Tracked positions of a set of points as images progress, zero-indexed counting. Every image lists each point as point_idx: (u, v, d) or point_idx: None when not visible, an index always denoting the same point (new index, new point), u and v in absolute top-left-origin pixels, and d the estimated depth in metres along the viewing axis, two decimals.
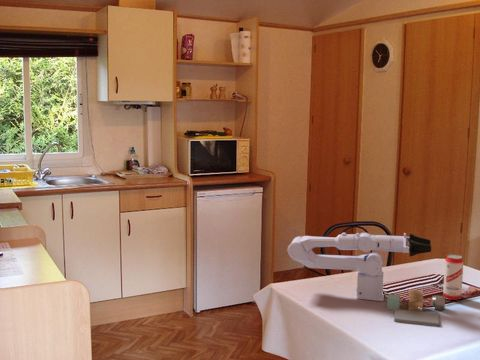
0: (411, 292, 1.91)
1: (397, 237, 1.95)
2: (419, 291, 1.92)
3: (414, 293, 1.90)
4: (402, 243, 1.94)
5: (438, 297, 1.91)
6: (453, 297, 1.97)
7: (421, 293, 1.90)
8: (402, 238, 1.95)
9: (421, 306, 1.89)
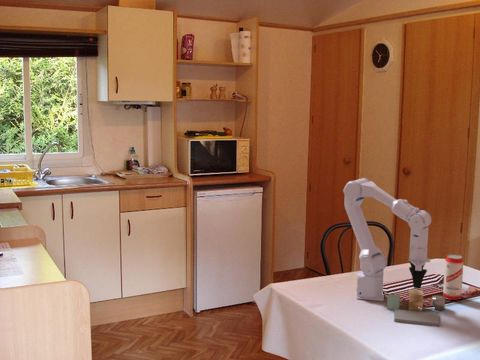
0: (411, 292, 1.91)
1: (426, 254, 1.87)
2: (419, 291, 1.92)
3: (414, 293, 1.90)
4: (421, 260, 1.86)
5: (438, 297, 1.91)
6: (453, 297, 1.97)
7: (421, 293, 1.90)
8: (425, 259, 1.87)
9: (421, 306, 1.89)
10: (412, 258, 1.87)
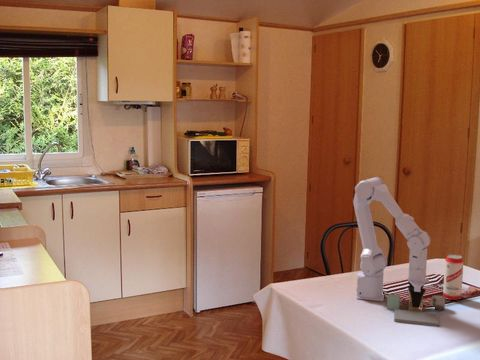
0: None
1: (425, 274, 1.88)
2: None
3: None
4: (420, 280, 1.87)
5: (438, 297, 1.91)
6: (453, 297, 1.97)
7: None
8: (424, 279, 1.88)
9: (421, 306, 1.89)
10: (411, 279, 1.89)
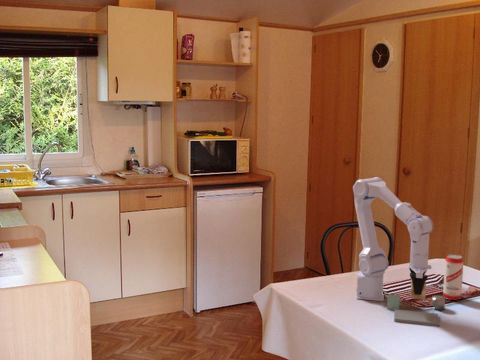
0: None
1: (427, 260, 1.81)
2: None
3: None
4: (422, 267, 1.80)
5: (438, 297, 1.91)
6: (453, 297, 1.97)
7: None
8: (426, 266, 1.81)
9: (424, 294, 1.82)
10: (413, 265, 1.82)
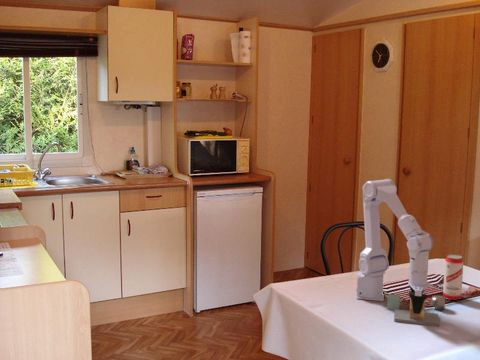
0: None
1: (426, 278, 1.79)
2: None
3: None
4: (421, 284, 1.78)
5: (438, 297, 1.91)
6: (453, 297, 1.97)
7: None
8: (426, 283, 1.79)
9: (422, 314, 1.80)
10: (412, 282, 1.80)
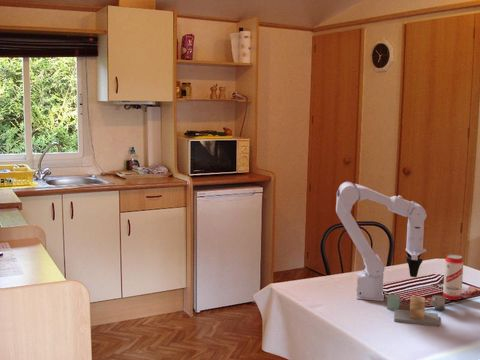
0: (412, 299, 1.82)
1: (422, 244, 1.96)
2: (421, 298, 1.83)
3: (415, 300, 1.81)
4: (417, 250, 1.95)
5: (438, 297, 1.91)
6: (453, 297, 1.97)
7: (423, 300, 1.81)
8: (421, 249, 1.96)
9: (422, 314, 1.80)
10: (409, 248, 1.97)
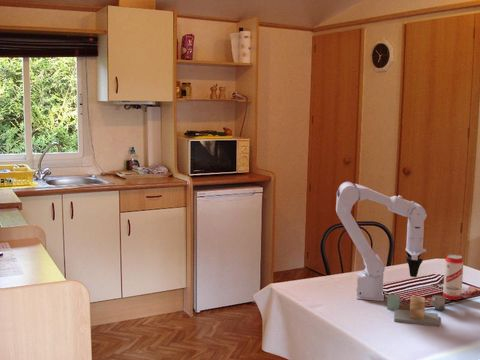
0: (412, 299, 1.82)
1: (422, 244, 1.96)
2: (421, 298, 1.83)
3: (415, 300, 1.81)
4: (417, 250, 1.96)
5: (438, 297, 1.91)
6: (453, 297, 1.97)
7: (423, 300, 1.81)
8: (421, 249, 1.96)
9: (422, 314, 1.80)
10: (409, 248, 1.97)
